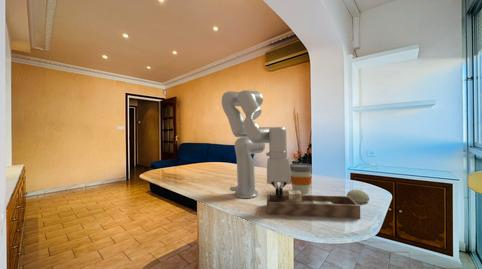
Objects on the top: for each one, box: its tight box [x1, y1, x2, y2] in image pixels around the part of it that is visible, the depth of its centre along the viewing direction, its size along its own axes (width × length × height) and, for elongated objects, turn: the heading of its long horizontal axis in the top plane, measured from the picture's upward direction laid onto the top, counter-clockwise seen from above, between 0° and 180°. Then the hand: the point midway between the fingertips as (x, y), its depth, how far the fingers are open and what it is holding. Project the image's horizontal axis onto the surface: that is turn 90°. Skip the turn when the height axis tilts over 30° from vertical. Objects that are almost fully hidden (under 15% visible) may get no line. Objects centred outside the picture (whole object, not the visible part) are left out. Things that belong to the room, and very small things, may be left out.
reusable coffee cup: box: [290, 162, 313, 195], centre depth 112 cm, size 13×13×15 cm
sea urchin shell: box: [346, 189, 370, 204], centre depth 96 cm, size 9×8×8 cm
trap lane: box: [266, 193, 361, 219], centre depth 85 cm, size 36×11×5 cm, turn 81°
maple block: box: [288, 189, 303, 203], centre depth 86 cm, size 5×5×5 cm
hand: (279, 196), depth 87 cm, fingers closed
